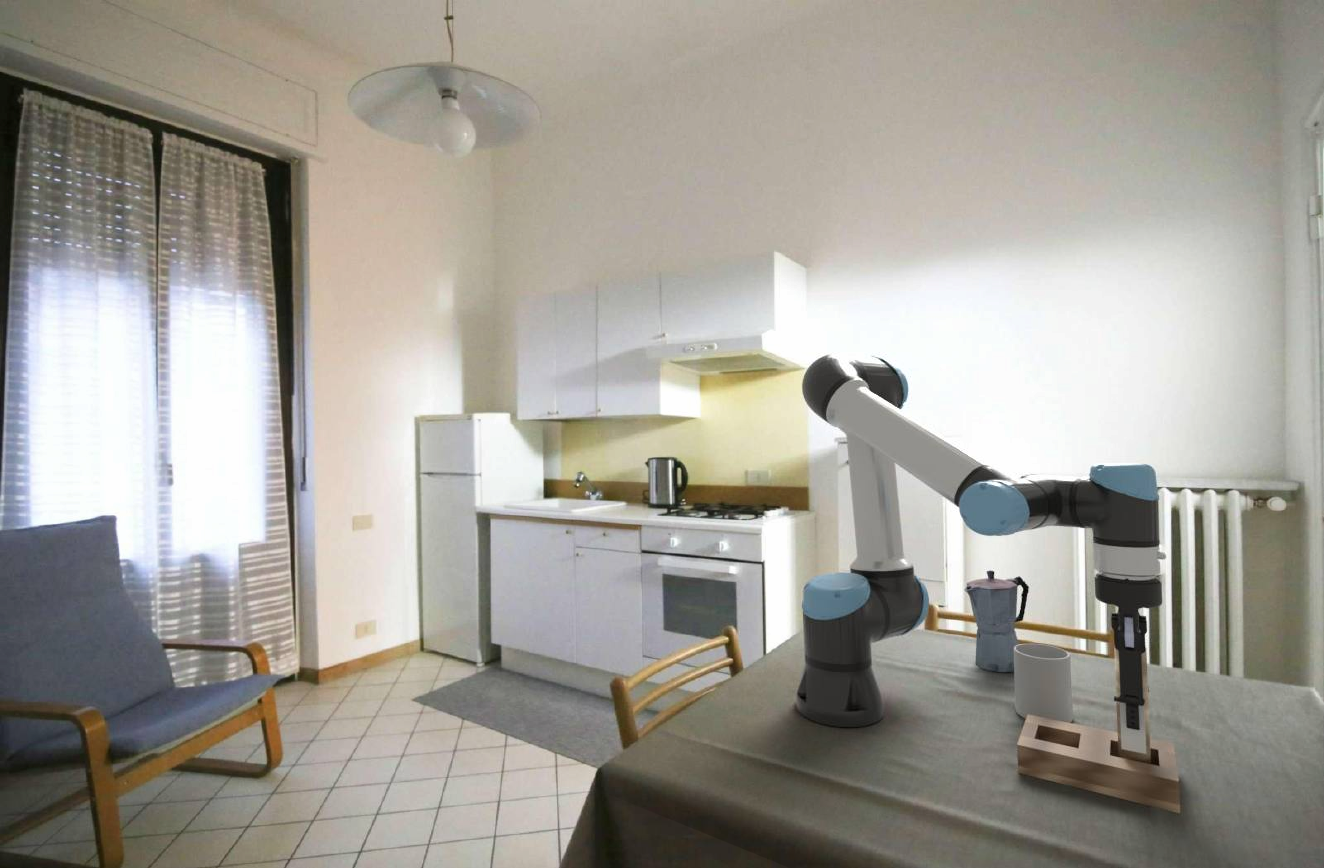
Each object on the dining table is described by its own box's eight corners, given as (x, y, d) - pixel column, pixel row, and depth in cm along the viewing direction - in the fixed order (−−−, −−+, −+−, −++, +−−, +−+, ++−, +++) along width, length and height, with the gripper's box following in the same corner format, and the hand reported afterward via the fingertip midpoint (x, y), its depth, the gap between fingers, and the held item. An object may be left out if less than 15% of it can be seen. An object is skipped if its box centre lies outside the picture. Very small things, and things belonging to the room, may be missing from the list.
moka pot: (953, 662, 135) (949, 569, 135) (1009, 653, 140) (1006, 563, 140) (988, 678, 126) (984, 577, 126) (1047, 668, 130) (1044, 571, 131)
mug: (1084, 725, 104) (1082, 658, 105) (1032, 726, 105) (1030, 659, 105) (1042, 696, 116) (1040, 636, 117) (995, 697, 117) (993, 637, 117)
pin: (1118, 764, 87) (1113, 647, 87) (1118, 753, 90) (1114, 640, 90) (1151, 771, 85) (1146, 652, 85) (1150, 760, 88) (1146, 644, 88)
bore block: (1018, 772, 90) (1017, 744, 90) (1028, 739, 100) (1027, 714, 100) (1180, 813, 80) (1179, 781, 80) (1174, 772, 89) (1173, 743, 89)
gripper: (1164, 589, 79) (1172, 778, 78) (1158, 566, 92) (1165, 727, 92) (1091, 582, 83) (1098, 762, 83) (1096, 561, 97) (1102, 715, 96)
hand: (1133, 743), depth 87 cm, fingers closed on pin, 4 cm apart
